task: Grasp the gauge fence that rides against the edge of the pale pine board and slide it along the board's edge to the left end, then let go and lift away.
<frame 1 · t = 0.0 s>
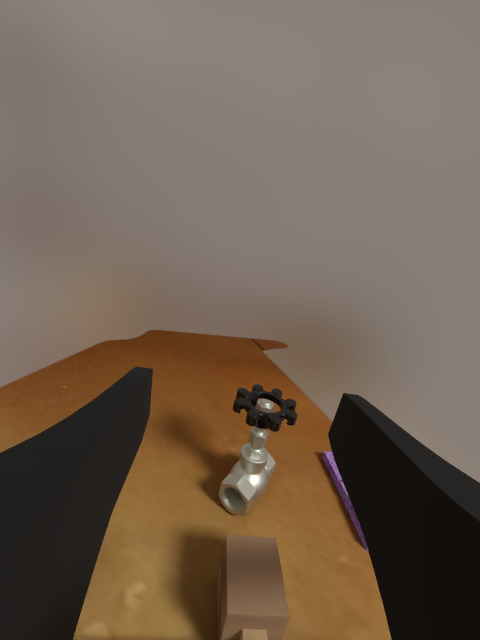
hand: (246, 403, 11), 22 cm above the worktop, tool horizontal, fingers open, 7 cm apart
sponges: (365, 501, 36), on the worktop
valve: (244, 495, 33), on the worktop
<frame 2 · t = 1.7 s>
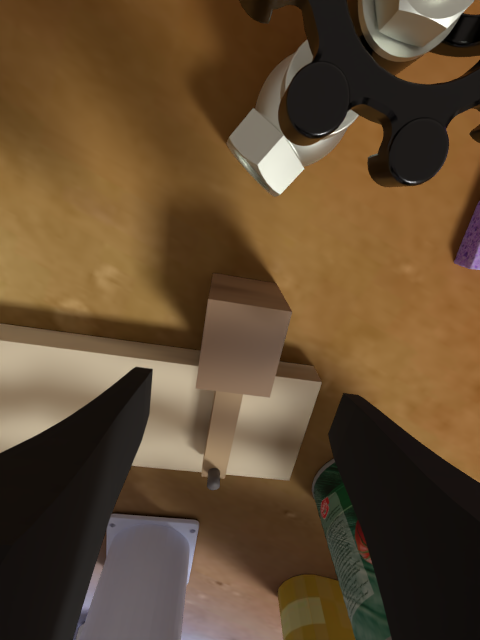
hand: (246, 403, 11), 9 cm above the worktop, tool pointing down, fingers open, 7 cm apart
canned tomato: (355, 481, 26), on the worktop
valve: (292, 124, 16), on the worktop
book: (346, 598, 33), on the worktop
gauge: (228, 388, 19), point 2 cm above the worktop, slide at 0.0 cm
board: (125, 395, 21), on the worktop
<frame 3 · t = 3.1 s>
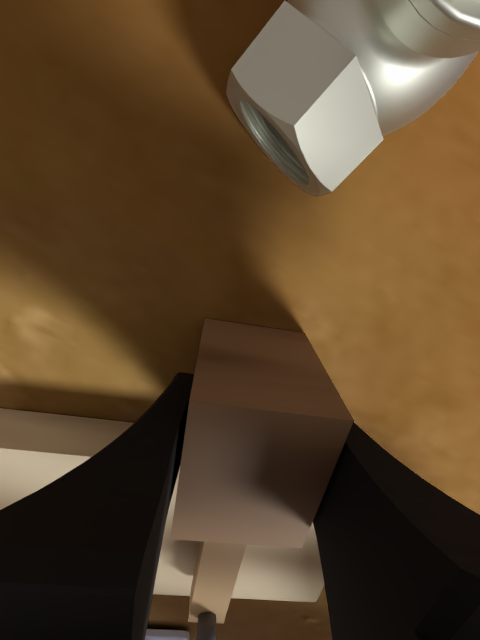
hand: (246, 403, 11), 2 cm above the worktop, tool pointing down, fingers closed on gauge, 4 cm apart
valve: (343, 67, 9), on the worktop
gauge: (229, 499, 12), point 3 cm above the worktop, slide at 0.0 cm, touching gripper
board: (77, 488, 15), on the worktop
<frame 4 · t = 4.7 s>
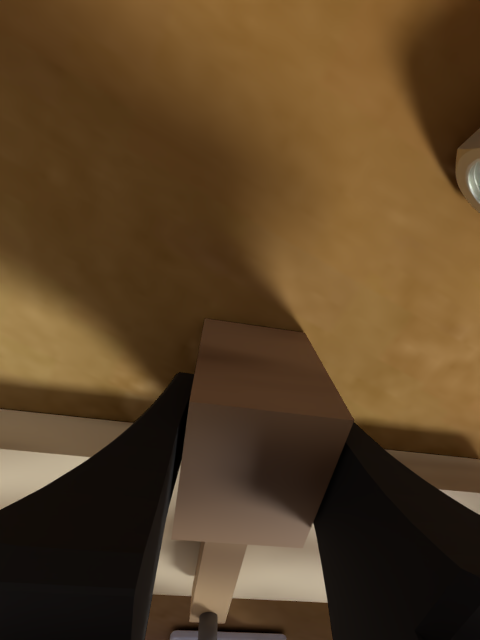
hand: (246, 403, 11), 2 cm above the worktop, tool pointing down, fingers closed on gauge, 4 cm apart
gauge: (229, 499, 12), point 2 cm above the worktop, slide at 6.6 cm, touching gripper
board: (211, 499, 15), on the worktop
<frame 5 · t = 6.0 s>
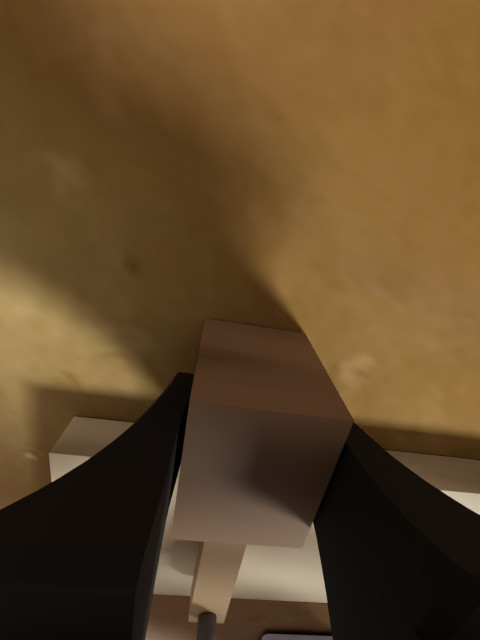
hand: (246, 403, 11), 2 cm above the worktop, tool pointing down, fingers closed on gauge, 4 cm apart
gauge: (229, 499, 12), point 2 cm above the worktop, slide at 13.0 cm, touching gripper
board: (328, 509, 16), on the worktop
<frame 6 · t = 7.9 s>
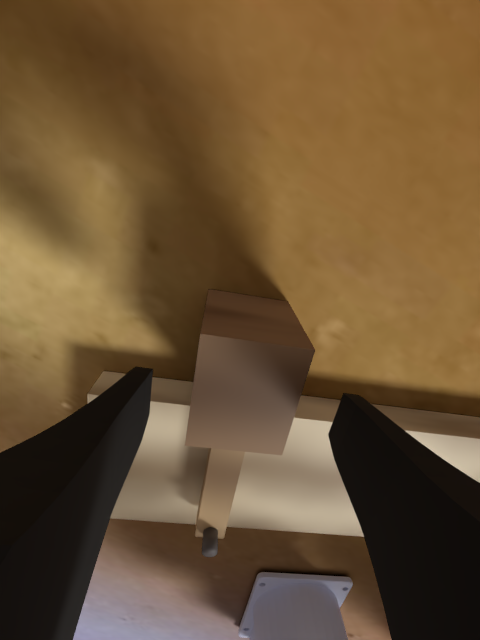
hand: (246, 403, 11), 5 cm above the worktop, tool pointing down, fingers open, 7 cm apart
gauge: (228, 432, 15), point 3 cm above the worktop, slide at 13.0 cm
board: (311, 455, 19), on the worktop
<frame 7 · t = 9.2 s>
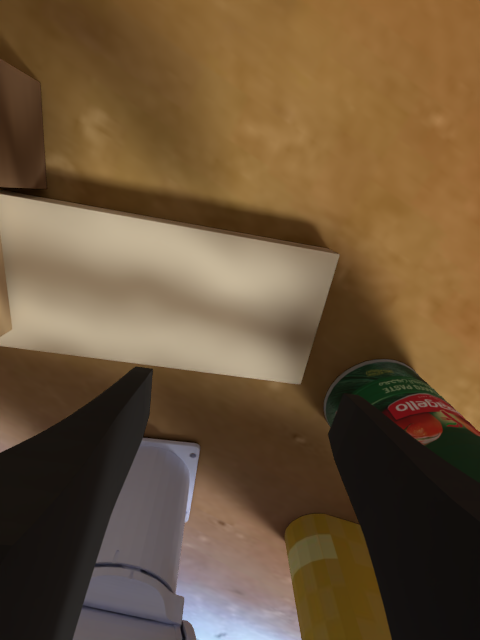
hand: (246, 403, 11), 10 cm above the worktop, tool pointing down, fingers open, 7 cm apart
canned tomato: (371, 399, 24), on the worktop
book: (357, 544, 31), on the worktop
board: (117, 283, 19), on the worktop
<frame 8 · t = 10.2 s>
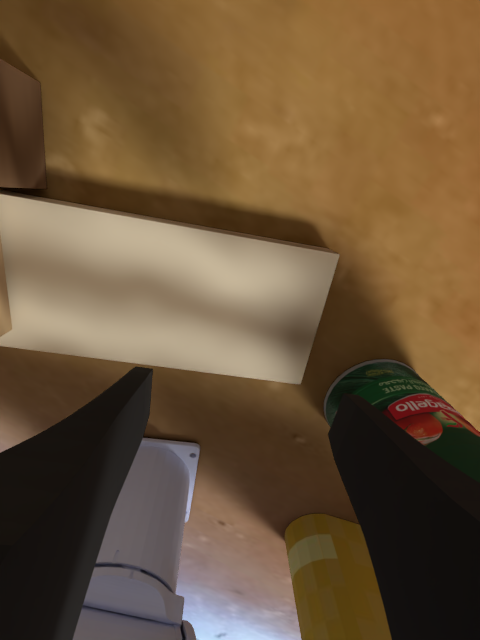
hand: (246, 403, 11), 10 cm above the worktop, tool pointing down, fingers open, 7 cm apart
canned tomato: (371, 399, 24), on the worktop
book: (357, 544, 31), on the worktop
board: (117, 283, 19), on the worktop
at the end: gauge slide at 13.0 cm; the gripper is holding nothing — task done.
